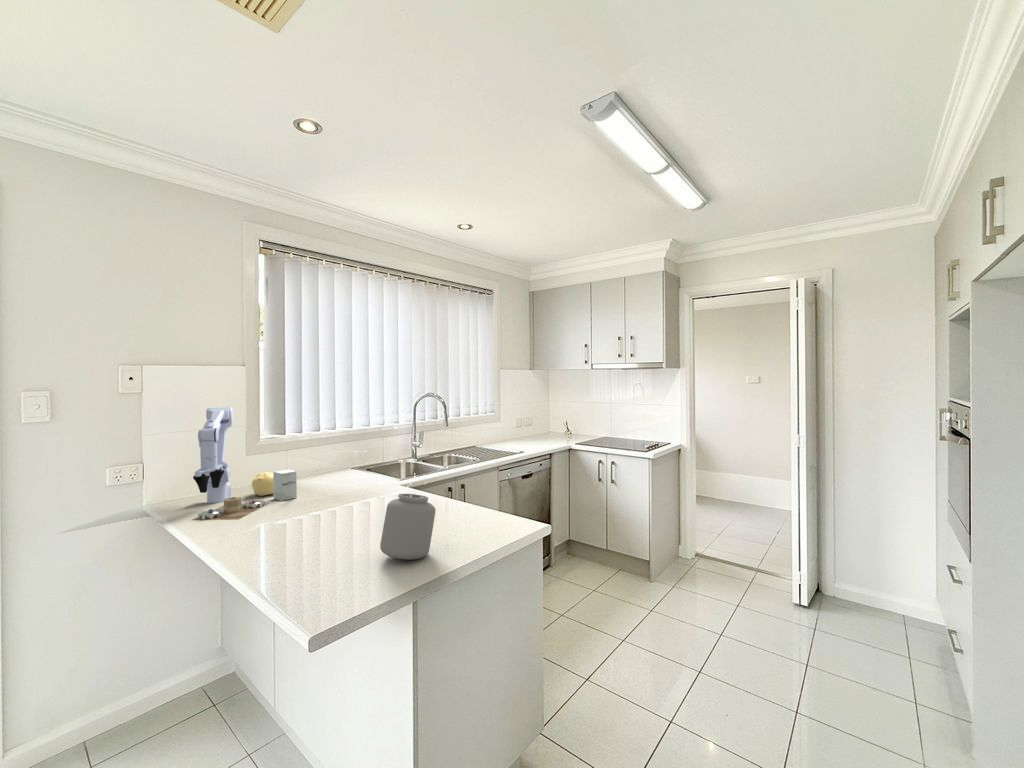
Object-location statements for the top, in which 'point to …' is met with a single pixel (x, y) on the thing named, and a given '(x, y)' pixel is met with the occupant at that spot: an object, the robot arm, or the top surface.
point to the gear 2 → (253, 504)
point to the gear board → (234, 514)
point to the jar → (408, 527)
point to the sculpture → (263, 484)
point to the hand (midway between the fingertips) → (209, 490)
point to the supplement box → (284, 485)
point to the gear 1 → (210, 514)
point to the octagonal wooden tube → (232, 505)
